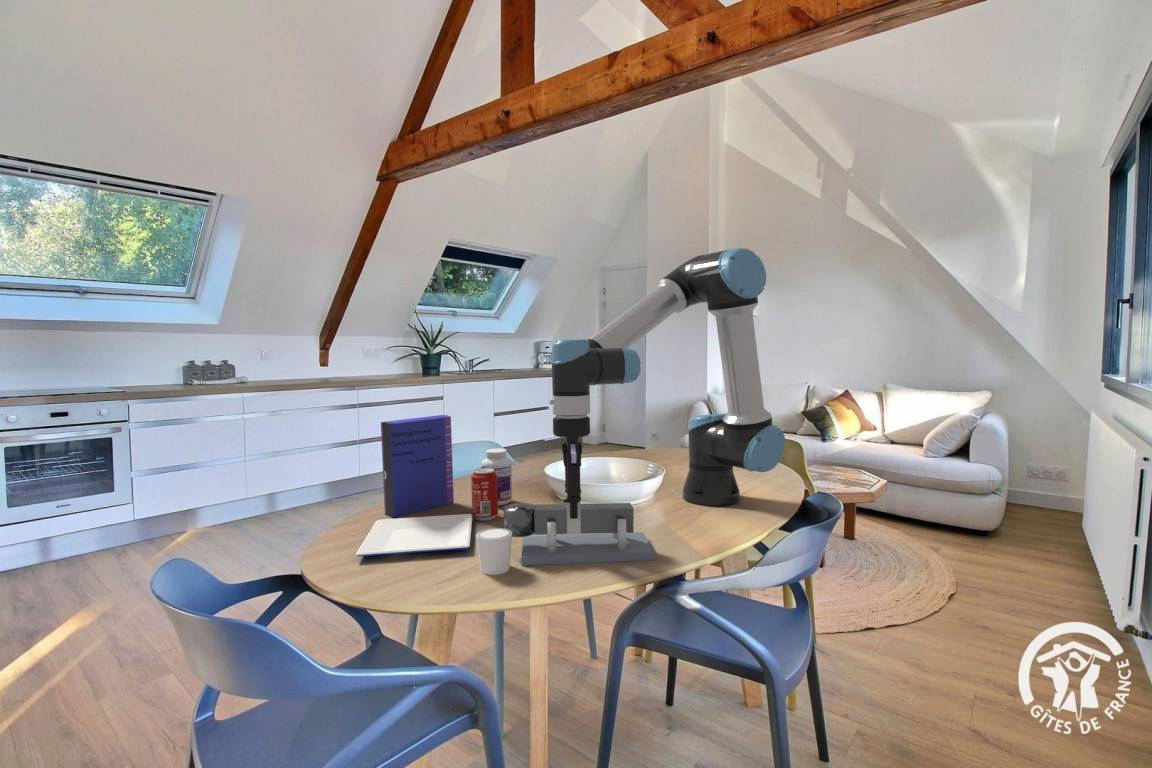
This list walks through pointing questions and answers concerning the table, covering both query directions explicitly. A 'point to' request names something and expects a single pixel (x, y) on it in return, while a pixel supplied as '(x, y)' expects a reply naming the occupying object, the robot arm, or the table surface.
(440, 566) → the table surface
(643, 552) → the peg rack
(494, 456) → the pill bottle
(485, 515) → the beverage can
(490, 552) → the white cup
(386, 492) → the blue book
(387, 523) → the plate
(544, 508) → the dark grey bar
